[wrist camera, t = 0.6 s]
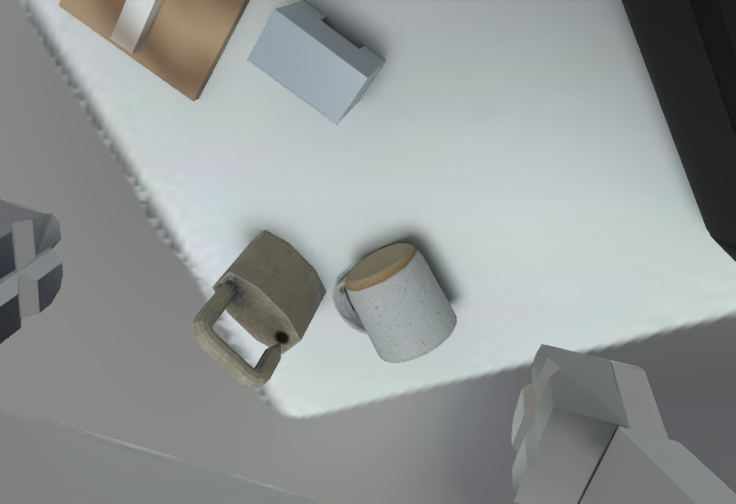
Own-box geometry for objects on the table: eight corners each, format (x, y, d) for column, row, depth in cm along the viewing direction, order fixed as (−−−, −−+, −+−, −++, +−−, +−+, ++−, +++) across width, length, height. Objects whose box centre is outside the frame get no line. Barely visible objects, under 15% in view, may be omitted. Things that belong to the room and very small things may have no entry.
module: (305, 0, 47) (274, 9, 41) (385, 60, 48) (367, 78, 42) (279, 45, 49) (247, 59, 43) (357, 102, 50) (336, 124, 44)
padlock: (304, 308, 60) (246, 411, 47) (243, 249, 58) (166, 338, 45) (332, 287, 58) (280, 387, 45) (270, 224, 56) (198, 310, 43)
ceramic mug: (420, 226, 53) (405, 267, 47) (462, 301, 56) (454, 350, 49) (320, 269, 58) (294, 312, 51) (363, 337, 60) (343, 387, 53)
